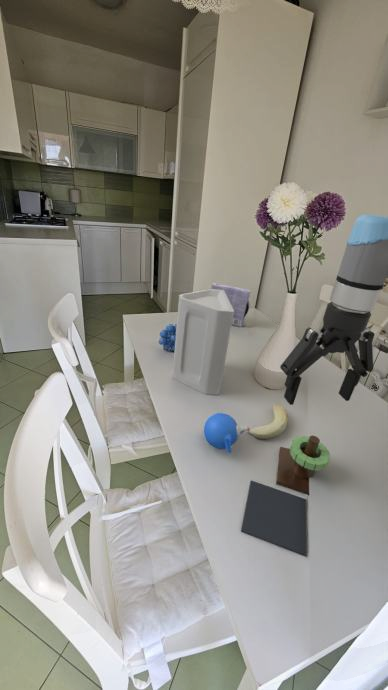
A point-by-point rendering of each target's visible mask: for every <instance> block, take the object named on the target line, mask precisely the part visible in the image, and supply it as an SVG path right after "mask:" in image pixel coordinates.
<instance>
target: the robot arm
mask: <svg viewBox="0 0 388 690" xmlns="http://www.w3.org/2000/svg"><path fill="white" fill-rule="evenodd" d="M339 266H340V267H339V269H338V271H337V276H336V279H335V280H334V284H333V287H332V290H331V292H330V296H329V301H330V302H328V303H327V305H326V309H325V311H324V315H323V317H322V321H323V325H322V327H321V328H320V329H319V330H317V329H313V328H312V327H307V328H306V329H305V331H304V334H303V335H302V338H301V339H300V340H299V342H298V343H297V344H296V345H295V347H294V348H293V349H292V351H291V352H290V353H289V354H288V356H286V357H285V359H284V361H283V362H282V363H281V365H280V366H279V368H280V370H281V371H282V372H283V373H284V374H285V376H286V378H285V382H284V386H285V391H284V395H283V398H284V399H285V400H286V402H287V403H288V405H291V406H293V405H294V404H295V401H296V397H297V394H298V392H299V391H298V390H299V388H300V385H301V382H302V377H301V375H302V374H303V373H305V371H307V370H308V369H309V368H310V367H311V366H312V365H314V364H315V363H316V362H317V361H318V360H320V359H321V358H322V357H326V356H328V355H329V354H336V353H339V354H345V355H346V358H347V360H348V363H349V364H350V366H351V368H348V369H347V370H346V373H345V375H344V378H343V381H342V384H341V385H340V388H339V391H338V394H339V396H341V398H342V399H343V400H344V401H345V402H349V401H350V400H351V397H352V395H353V393H354V390H355V388H356V387H357V385H359V382H360V380H361V378H366V377H367V376H368V373H372V372H373V371H374V353H373V350H374V349H373V341H374V338H375V335H376V334H375V332H373V331H372V330H370V329H369V328H367V326H368V324H369V323H370V319H371V316H372V313H371V312H372V311H374V309H375V307H376V304H377V302H378V299H379V297H380V294H381V291H382V289H383V287H384V283H385V282H386V280H387V279H388V216H385V215H377V214H369V213H367V214H362V215H360V216H358V218H356V220H355V221H354V225H353V227H352V229H351V232H350V235H349V237H348V239H347V240H346V246H345V249H344V252H343V256H342V259H341V262H340V265H339ZM356 343H358V348H357V347H356ZM321 346H322V347H321ZM358 353H359V354H358Z"/></svg>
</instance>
